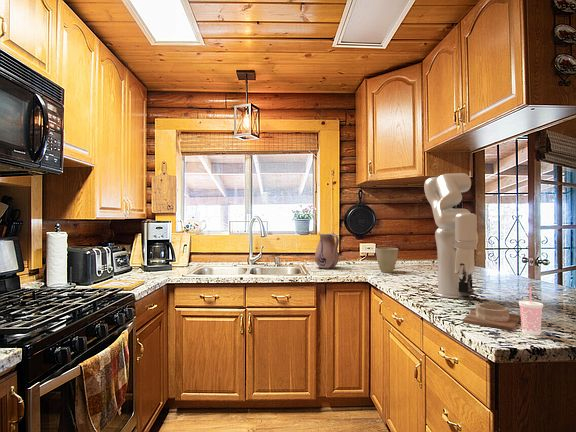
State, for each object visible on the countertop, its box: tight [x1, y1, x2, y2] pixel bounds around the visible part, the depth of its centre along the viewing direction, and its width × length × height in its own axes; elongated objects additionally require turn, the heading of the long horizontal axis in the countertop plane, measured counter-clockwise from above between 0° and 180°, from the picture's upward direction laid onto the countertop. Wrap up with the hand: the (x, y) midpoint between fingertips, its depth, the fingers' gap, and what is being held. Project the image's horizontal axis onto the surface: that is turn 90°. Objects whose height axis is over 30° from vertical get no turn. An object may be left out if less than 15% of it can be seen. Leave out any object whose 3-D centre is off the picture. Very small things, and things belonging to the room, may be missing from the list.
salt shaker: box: [457, 273, 475, 301], centre depth 131 cm, size 6×6×12 cm
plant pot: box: [374, 247, 399, 274], centre depth 225 cm, size 15×15×16 cm
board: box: [462, 303, 521, 332], centre depth 115 cm, size 18×14×4 cm
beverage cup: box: [518, 285, 544, 336], centre depth 102 cm, size 6×6×14 cm
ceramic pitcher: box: [314, 233, 340, 270], centre depth 246 cm, size 18×21×25 cm
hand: (465, 290), depth 132 cm, fingers closed on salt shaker, 5 cm apart
